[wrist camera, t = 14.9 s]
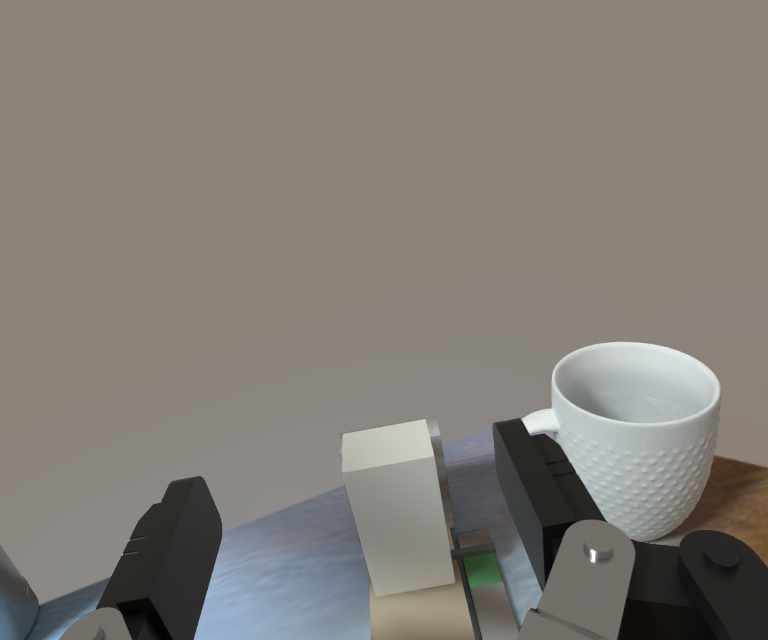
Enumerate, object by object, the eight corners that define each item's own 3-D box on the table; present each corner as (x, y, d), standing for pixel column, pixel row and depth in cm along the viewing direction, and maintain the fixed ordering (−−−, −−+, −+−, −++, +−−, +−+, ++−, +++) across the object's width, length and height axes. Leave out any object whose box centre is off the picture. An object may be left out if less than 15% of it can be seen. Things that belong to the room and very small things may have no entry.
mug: (525, 578, 37) (514, 440, 32) (500, 474, 47) (489, 356, 42) (735, 561, 36) (762, 413, 30) (664, 458, 45) (674, 332, 40)
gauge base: (527, 661, 32) (517, 554, 28) (368, 689, 32) (335, 586, 28) (476, 501, 45) (465, 410, 41) (362, 521, 45) (339, 433, 41)
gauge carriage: (502, 574, 36) (488, 446, 31) (375, 597, 36) (341, 472, 32) (488, 531, 40) (474, 410, 35) (373, 551, 40) (342, 434, 35)
